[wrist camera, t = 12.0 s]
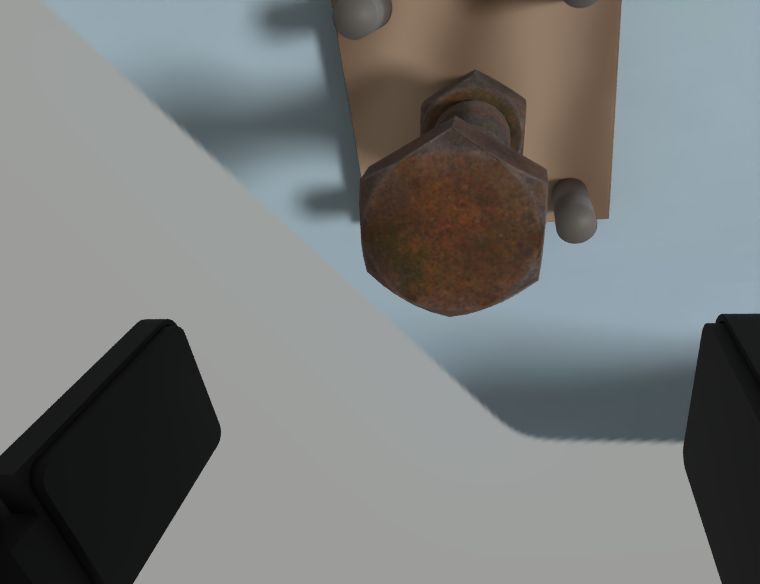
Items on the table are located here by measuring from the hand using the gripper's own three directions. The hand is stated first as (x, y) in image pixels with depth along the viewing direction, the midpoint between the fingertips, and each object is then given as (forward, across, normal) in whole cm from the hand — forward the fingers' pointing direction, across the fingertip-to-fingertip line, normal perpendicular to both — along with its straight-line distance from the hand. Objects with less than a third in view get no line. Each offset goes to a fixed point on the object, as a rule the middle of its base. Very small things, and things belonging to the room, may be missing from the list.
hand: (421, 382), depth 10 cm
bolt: (+21, 0, 0) cm, 21 cm away
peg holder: (+23, 0, 0) cm, 23 cm away
